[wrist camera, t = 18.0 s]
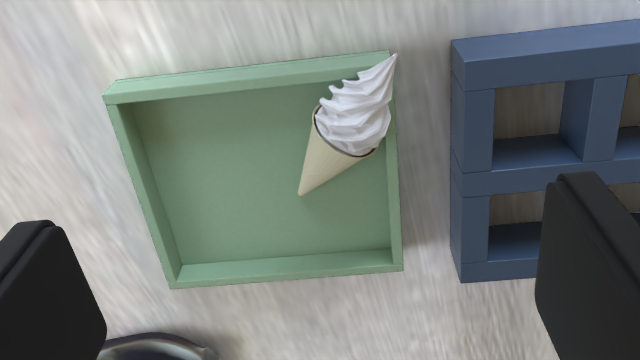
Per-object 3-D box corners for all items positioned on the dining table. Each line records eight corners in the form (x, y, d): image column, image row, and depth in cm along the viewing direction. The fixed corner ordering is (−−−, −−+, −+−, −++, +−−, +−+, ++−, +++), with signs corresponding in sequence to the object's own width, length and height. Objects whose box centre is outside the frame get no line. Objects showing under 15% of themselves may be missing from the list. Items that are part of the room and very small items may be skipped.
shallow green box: (115, 80, 39) (101, 94, 36) (388, 49, 37) (392, 63, 35) (178, 268, 48) (169, 289, 45) (400, 250, 46) (403, 271, 44)
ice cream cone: (261, 169, 42) (347, 19, 31) (316, 165, 44) (412, 25, 34) (283, 225, 40) (384, 84, 29) (339, 217, 42) (450, 85, 32)
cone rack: (450, 39, 37) (464, 61, 33) (728, 8, 35) (777, 27, 31) (449, 247, 46) (460, 283, 42) (670, 229, 44) (702, 265, 41)
